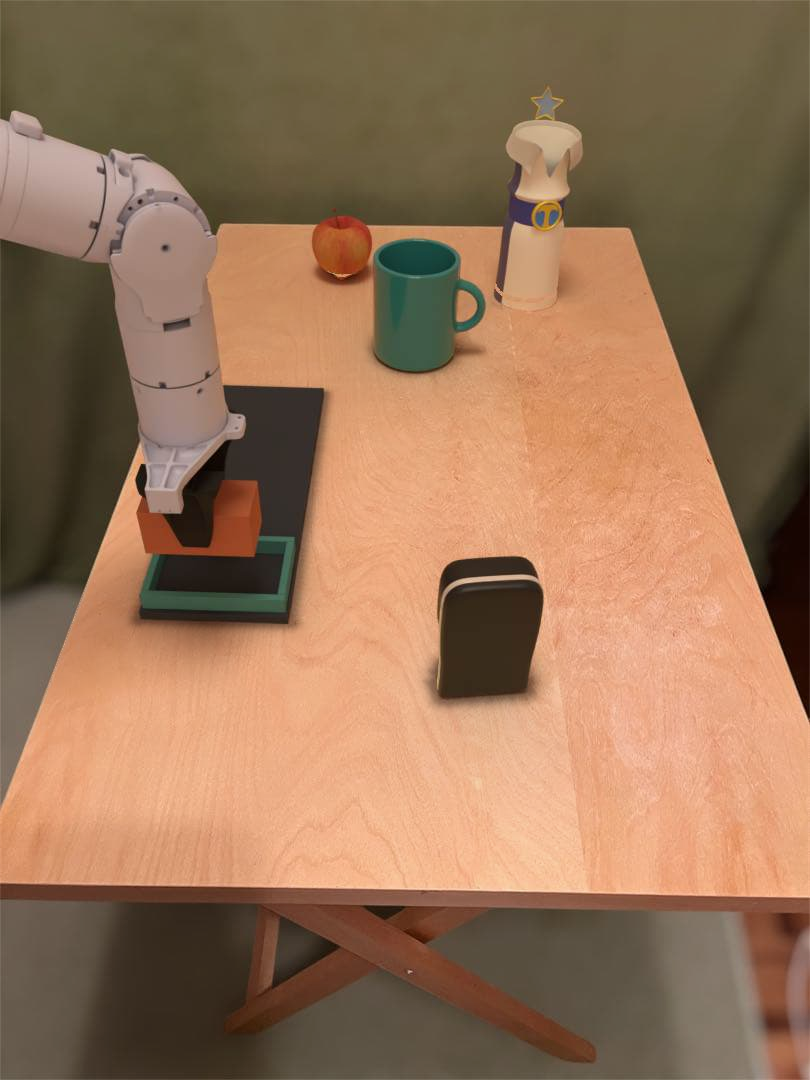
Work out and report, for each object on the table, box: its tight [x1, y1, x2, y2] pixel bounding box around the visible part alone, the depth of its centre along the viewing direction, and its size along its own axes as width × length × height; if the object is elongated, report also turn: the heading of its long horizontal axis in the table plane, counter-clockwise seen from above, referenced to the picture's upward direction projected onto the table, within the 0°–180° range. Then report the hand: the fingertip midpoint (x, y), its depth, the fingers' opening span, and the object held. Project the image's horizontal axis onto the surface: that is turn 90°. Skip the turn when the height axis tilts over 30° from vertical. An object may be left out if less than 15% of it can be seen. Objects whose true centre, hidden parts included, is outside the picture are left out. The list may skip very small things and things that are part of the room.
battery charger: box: [436, 555, 545, 697], centre depth 64 cm, size 7×4×11 cm, turn 96°
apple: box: [311, 207, 373, 281], centre depth 112 cm, size 7×7×8 cm
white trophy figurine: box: [493, 85, 584, 312], centre depth 103 cm, size 8×9×25 cm
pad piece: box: [135, 480, 262, 557], centre depth 67 cm, size 4×8×4 cm, turn 89°
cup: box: [372, 237, 487, 373], centre depth 97 cm, size 9×12×11 cm
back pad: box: [138, 384, 325, 625], centre depth 82 cm, size 32×12×2 cm, turn 179°
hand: (202, 523), depth 67 cm, fingers closed on pad piece, 4 cm apart
